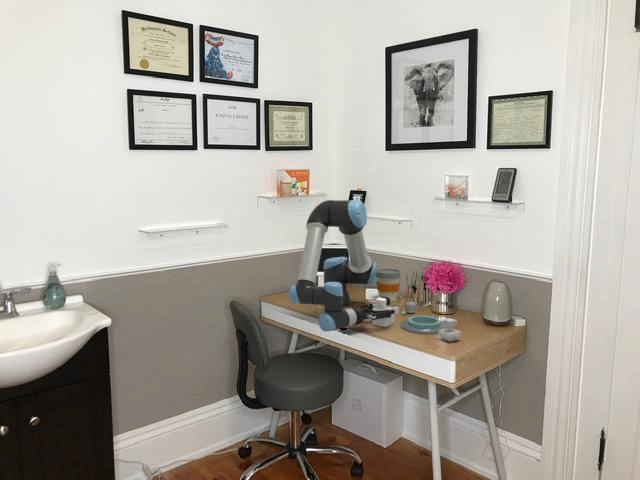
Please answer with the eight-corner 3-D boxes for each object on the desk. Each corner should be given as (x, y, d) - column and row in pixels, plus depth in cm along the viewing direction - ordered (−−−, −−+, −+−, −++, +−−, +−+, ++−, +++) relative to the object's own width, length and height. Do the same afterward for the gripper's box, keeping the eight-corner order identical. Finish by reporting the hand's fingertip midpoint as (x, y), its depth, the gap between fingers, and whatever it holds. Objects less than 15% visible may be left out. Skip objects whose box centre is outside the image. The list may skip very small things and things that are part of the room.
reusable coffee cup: (380, 295, 288) (380, 268, 286) (403, 298, 283) (403, 270, 280) (372, 301, 277) (372, 272, 275) (395, 303, 271) (396, 274, 269)
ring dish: (391, 325, 234) (391, 319, 234) (422, 317, 246) (422, 311, 246) (425, 337, 219) (426, 330, 218) (457, 328, 230) (458, 321, 230)
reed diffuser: (411, 310, 259) (412, 269, 256) (423, 312, 254) (424, 271, 251) (398, 314, 252) (399, 272, 249) (410, 317, 247) (411, 274, 244)
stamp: (464, 341, 213) (464, 320, 212) (452, 344, 210) (452, 323, 208) (447, 335, 221) (447, 315, 220) (435, 338, 217) (435, 318, 216)
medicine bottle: (380, 320, 242) (381, 294, 240) (394, 323, 237) (394, 297, 236) (371, 324, 236) (371, 297, 235) (385, 327, 232) (385, 300, 230)
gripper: (336, 319, 234) (374, 310, 248) (368, 331, 218) (408, 321, 231) (336, 302, 233) (374, 294, 247) (368, 313, 216) (408, 304, 230)
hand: (390, 307), depth 239 cm, fingers closed on medicine bottle, 8 cm apart
